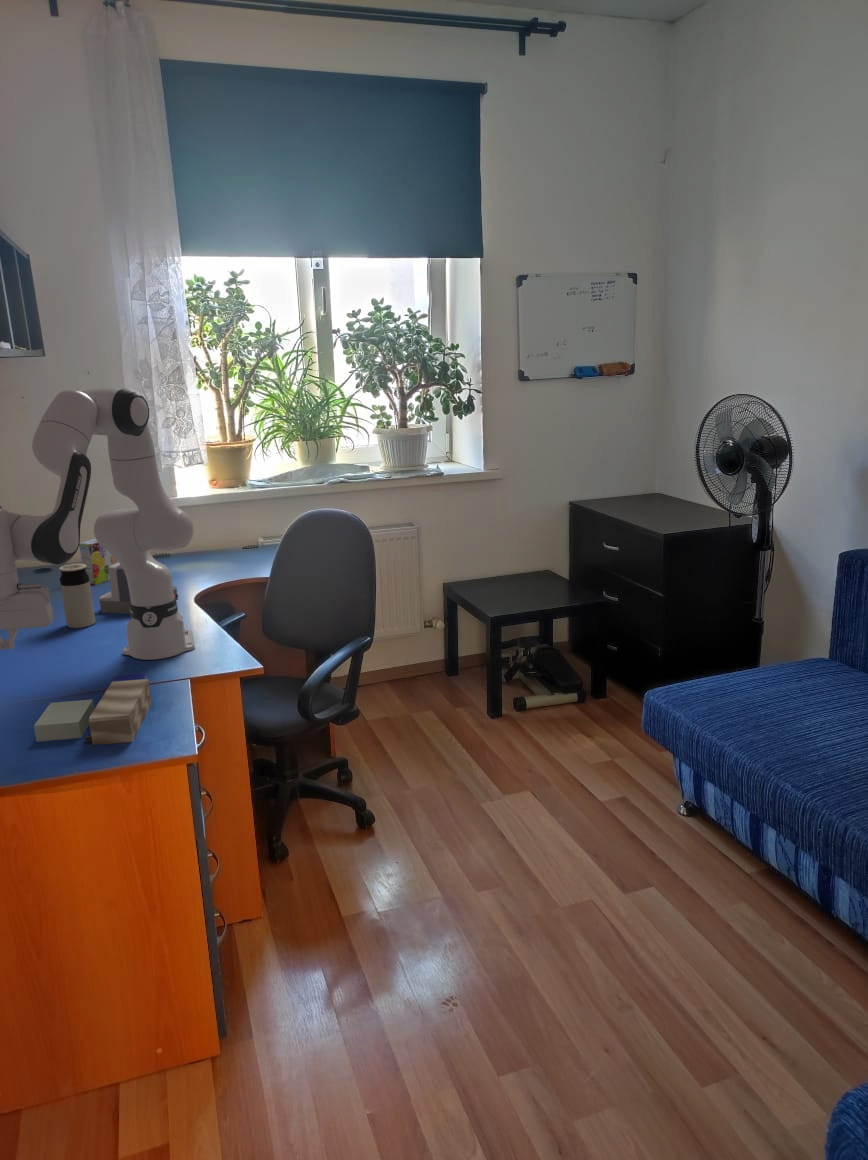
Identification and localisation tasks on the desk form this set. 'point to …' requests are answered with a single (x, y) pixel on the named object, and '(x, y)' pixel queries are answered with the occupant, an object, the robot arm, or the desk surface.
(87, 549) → the snack box
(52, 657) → the desk surface
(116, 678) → the hard drive
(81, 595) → the travel mug
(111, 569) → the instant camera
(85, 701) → the case
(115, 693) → the low shelf
